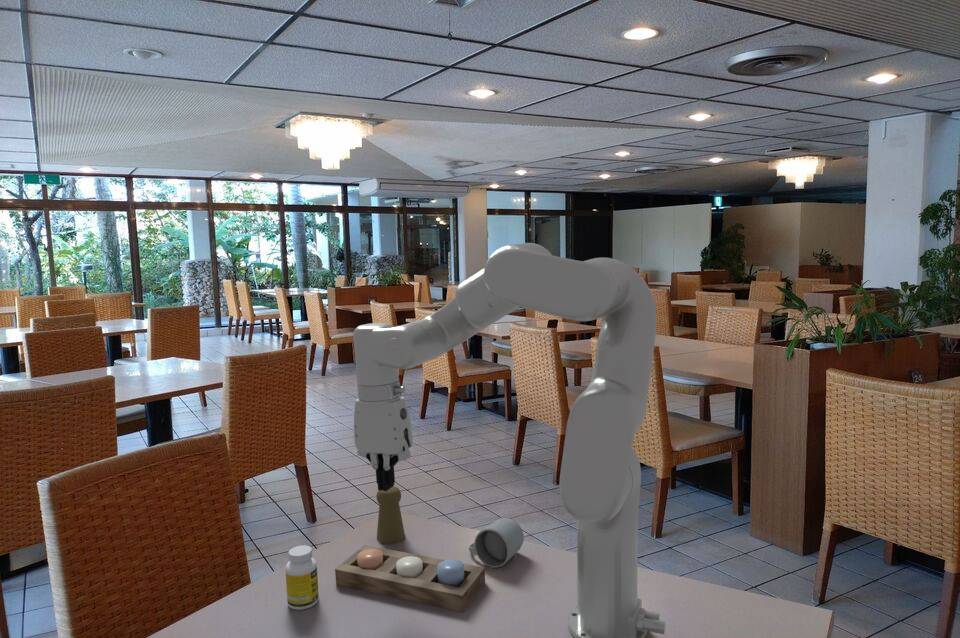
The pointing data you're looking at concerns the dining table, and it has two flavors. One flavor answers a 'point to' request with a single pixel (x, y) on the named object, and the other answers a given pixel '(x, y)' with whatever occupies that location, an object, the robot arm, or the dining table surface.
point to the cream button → (409, 567)
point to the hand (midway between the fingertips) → (386, 487)
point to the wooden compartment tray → (411, 580)
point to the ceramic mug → (497, 542)
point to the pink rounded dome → (370, 559)
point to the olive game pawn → (389, 516)
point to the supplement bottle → (301, 578)
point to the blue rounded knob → (450, 572)
